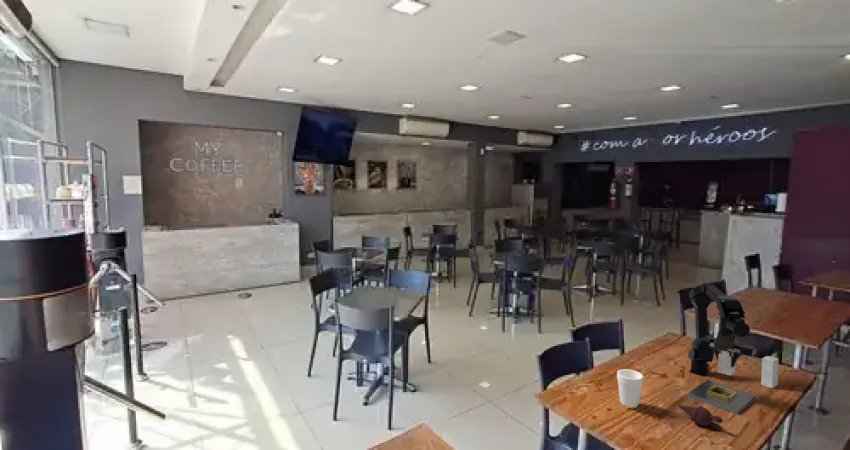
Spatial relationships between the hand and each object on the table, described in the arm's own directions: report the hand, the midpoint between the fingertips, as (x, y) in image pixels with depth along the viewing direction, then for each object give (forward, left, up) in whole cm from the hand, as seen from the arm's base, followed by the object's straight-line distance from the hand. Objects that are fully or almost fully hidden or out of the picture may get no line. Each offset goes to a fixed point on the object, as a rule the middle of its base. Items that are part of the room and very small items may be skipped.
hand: (726, 365), depth 182 cm
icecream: (+3, -31, -14) cm, 34 cm away
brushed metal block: (0, 0, -3) cm, 3 cm away
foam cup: (-20, -39, -13) cm, 46 cm away
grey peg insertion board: (0, -3, -13) cm, 13 cm away
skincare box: (+8, +26, -13) cm, 31 cm away
